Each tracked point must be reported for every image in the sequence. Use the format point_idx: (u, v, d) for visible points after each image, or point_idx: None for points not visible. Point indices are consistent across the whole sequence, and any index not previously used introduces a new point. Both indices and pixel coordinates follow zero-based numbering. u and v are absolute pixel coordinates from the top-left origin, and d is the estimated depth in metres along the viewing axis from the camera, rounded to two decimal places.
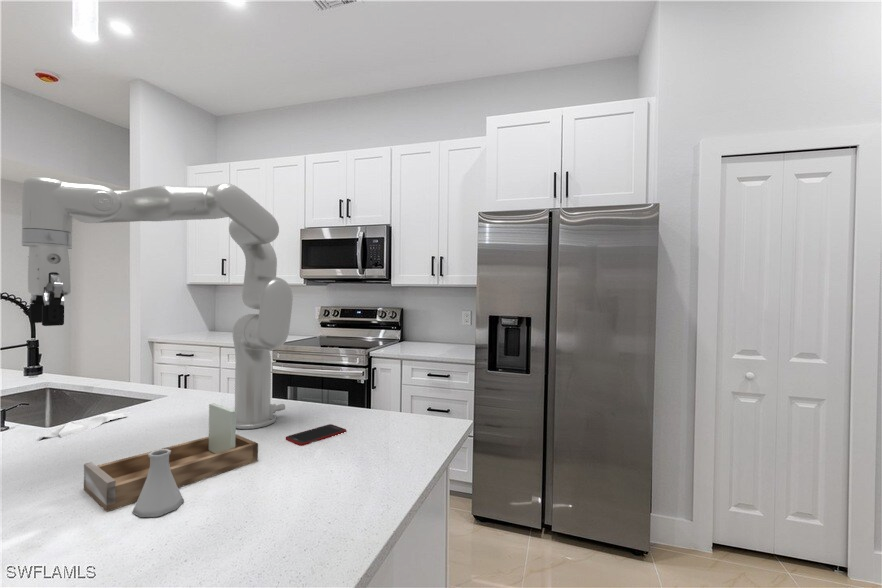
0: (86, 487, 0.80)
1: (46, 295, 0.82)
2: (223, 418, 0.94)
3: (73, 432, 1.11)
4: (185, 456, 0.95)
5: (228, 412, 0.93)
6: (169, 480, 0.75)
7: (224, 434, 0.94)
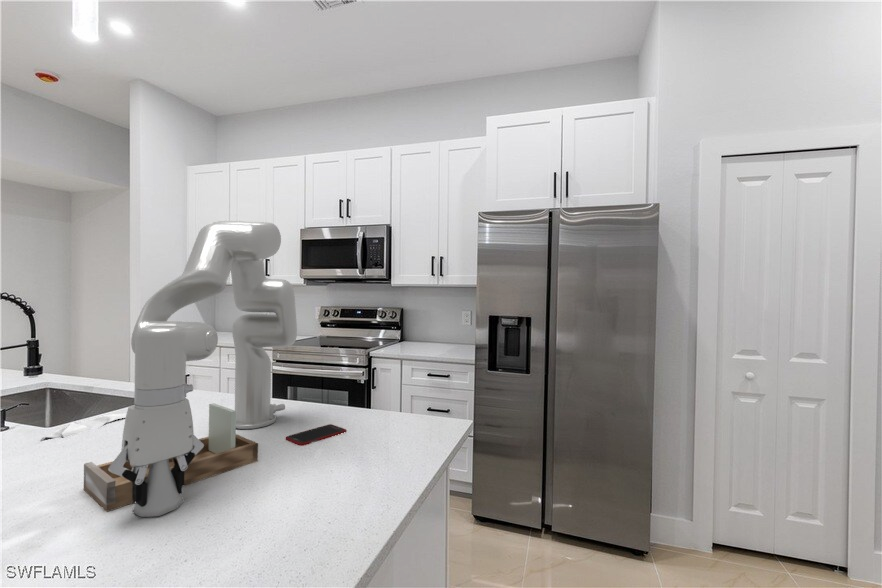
0: (86, 487, 0.80)
1: (184, 459, 0.77)
2: (223, 418, 0.94)
3: (76, 432, 1.11)
4: None
5: (228, 412, 0.93)
6: (169, 480, 0.75)
7: (224, 434, 0.94)
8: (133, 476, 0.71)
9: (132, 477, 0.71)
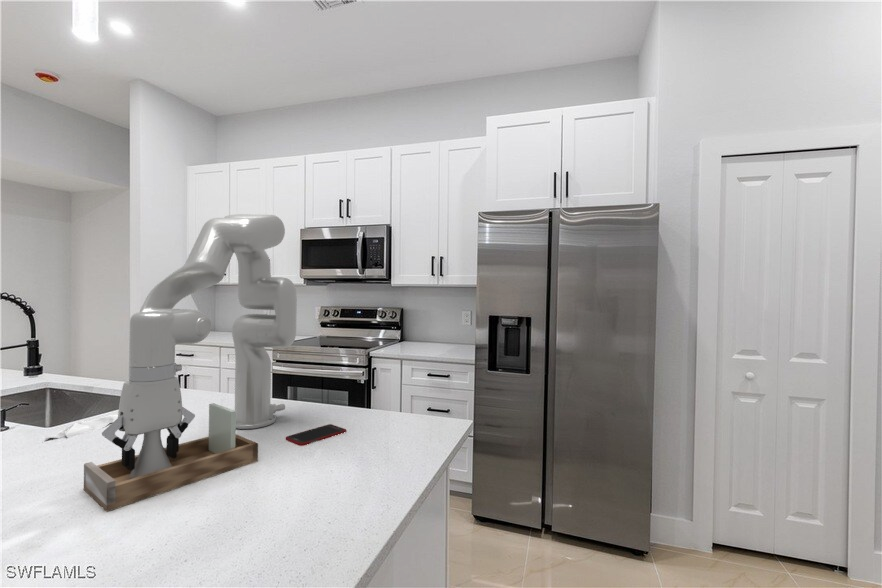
0: (86, 487, 0.80)
1: (177, 428, 0.87)
2: (223, 418, 0.94)
3: (80, 433, 1.11)
4: (185, 456, 0.95)
5: (228, 412, 0.93)
6: (160, 452, 0.85)
7: (224, 434, 0.94)
8: (123, 442, 0.80)
9: (122, 443, 0.80)
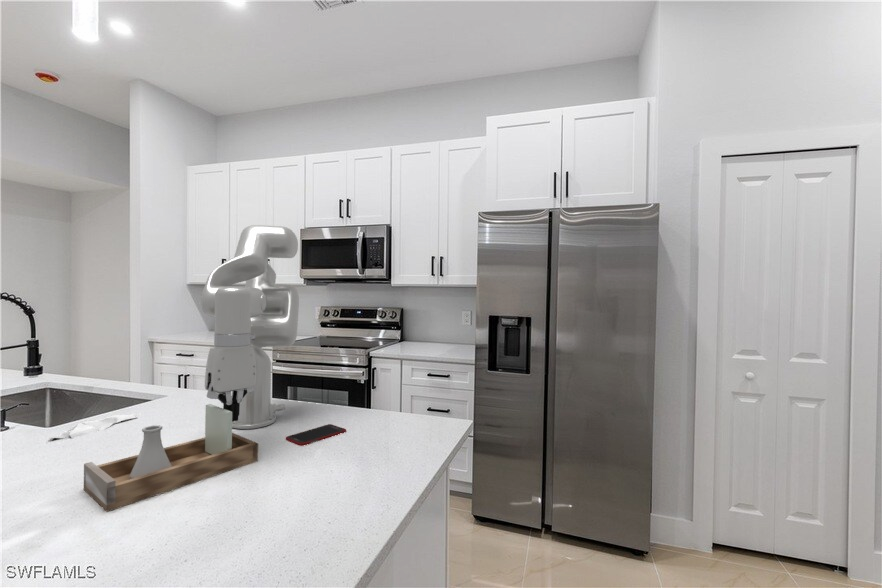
0: (86, 487, 0.80)
1: None
2: (219, 419, 0.94)
3: (84, 433, 1.10)
4: (185, 456, 0.95)
5: (224, 413, 0.92)
6: (160, 452, 0.84)
7: (220, 435, 0.94)
8: (224, 400, 0.95)
9: (223, 401, 0.95)
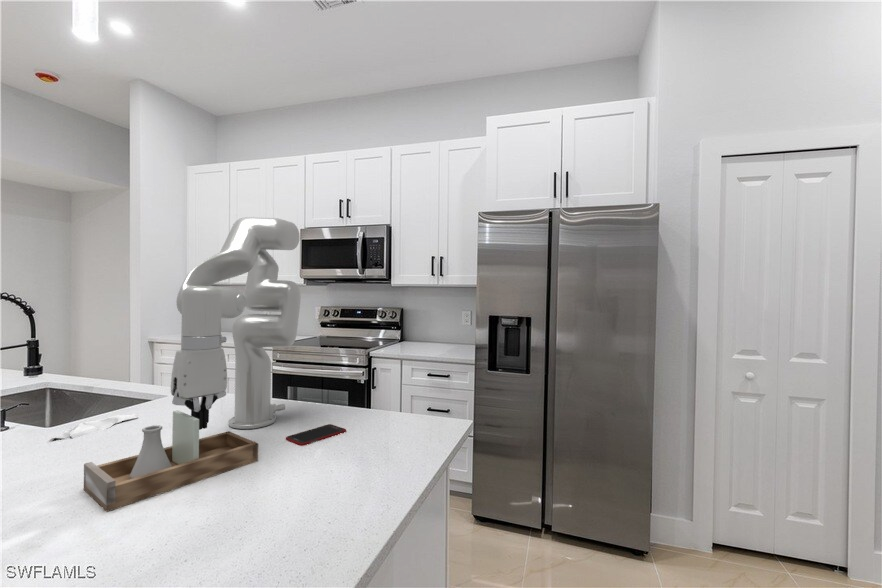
0: (86, 487, 0.80)
1: None
2: (186, 427, 0.88)
3: (84, 433, 1.10)
4: None
5: (191, 420, 0.87)
6: (160, 452, 0.84)
7: (187, 444, 0.88)
8: (191, 407, 0.89)
9: (190, 408, 0.89)
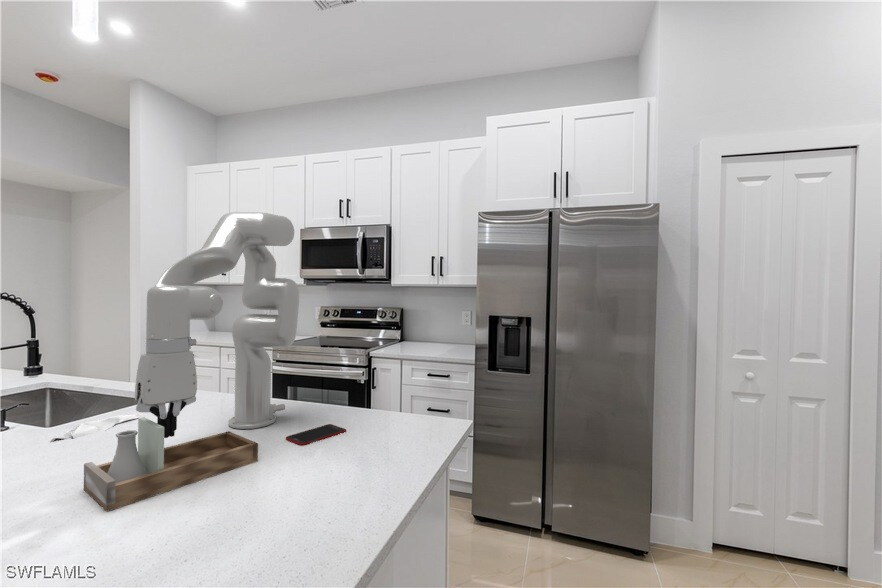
0: (86, 487, 0.80)
1: None
2: (151, 435, 0.83)
3: (86, 433, 1.10)
4: (185, 456, 0.95)
5: (155, 428, 0.82)
6: (134, 459, 0.81)
7: (151, 453, 0.83)
8: (157, 414, 0.84)
9: (156, 414, 0.84)
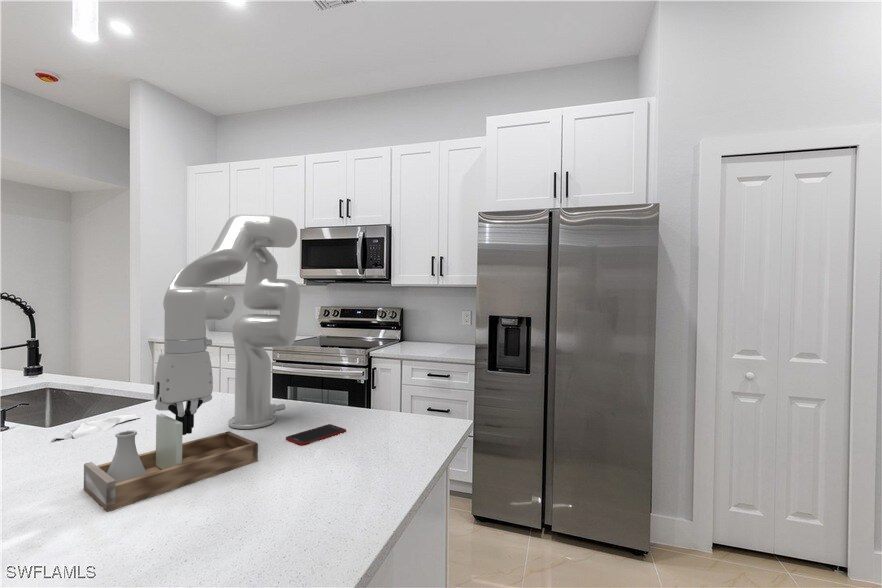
0: (86, 487, 0.80)
1: None
2: (169, 431, 0.86)
3: (86, 433, 1.10)
4: (185, 456, 0.95)
5: (174, 424, 0.84)
6: (134, 459, 0.81)
7: (170, 448, 0.85)
8: (175, 412, 0.87)
9: (174, 412, 0.87)
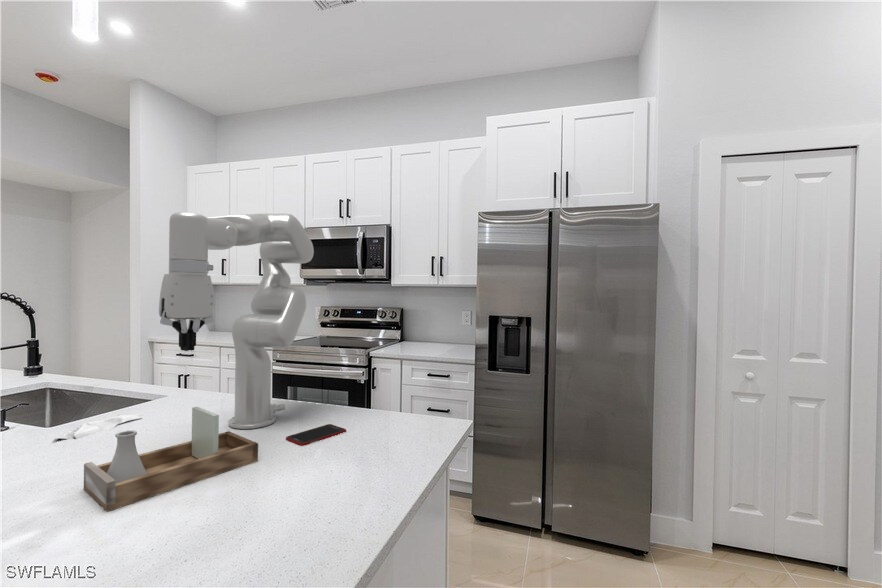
0: (86, 487, 0.80)
1: None
2: (206, 422, 0.91)
3: (88, 434, 1.10)
4: (185, 456, 0.95)
5: (211, 416, 0.90)
6: (134, 459, 0.81)
7: (206, 439, 0.91)
8: (178, 328, 0.93)
9: (178, 329, 0.93)
